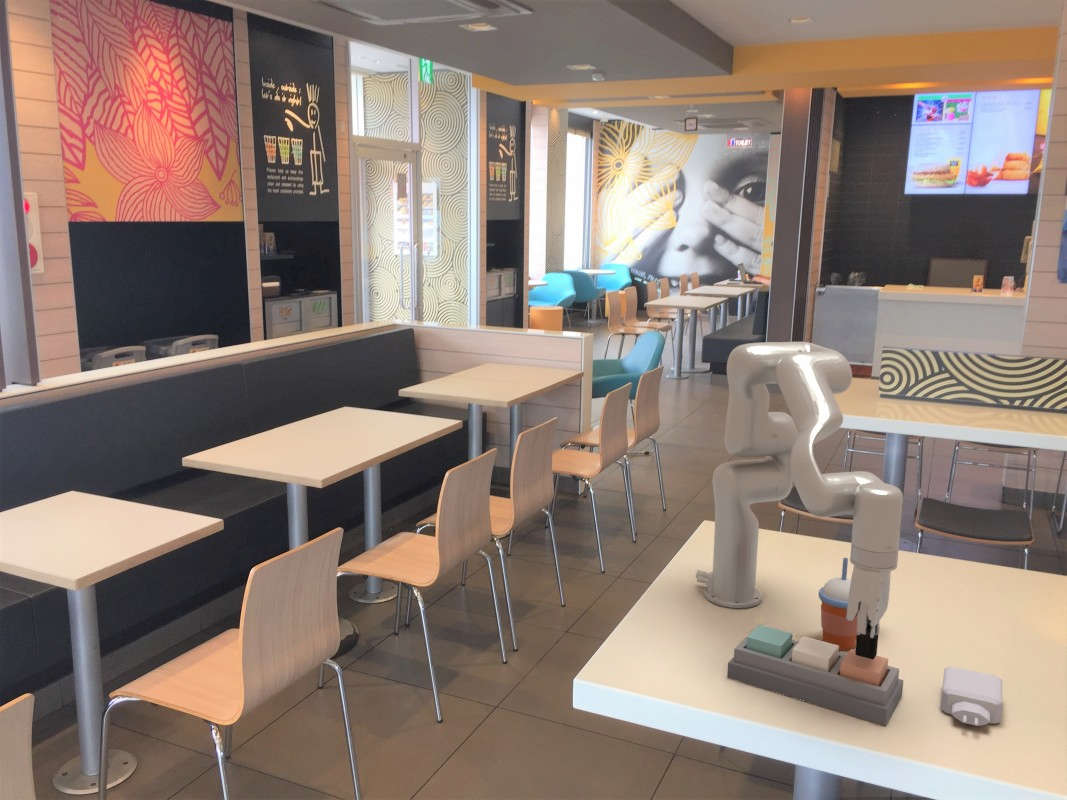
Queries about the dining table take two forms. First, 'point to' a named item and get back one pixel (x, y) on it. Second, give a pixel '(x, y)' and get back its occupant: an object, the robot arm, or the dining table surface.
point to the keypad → (818, 684)
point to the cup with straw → (837, 612)
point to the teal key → (769, 641)
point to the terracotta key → (864, 668)
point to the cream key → (815, 654)
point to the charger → (972, 696)
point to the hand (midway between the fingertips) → (865, 655)
